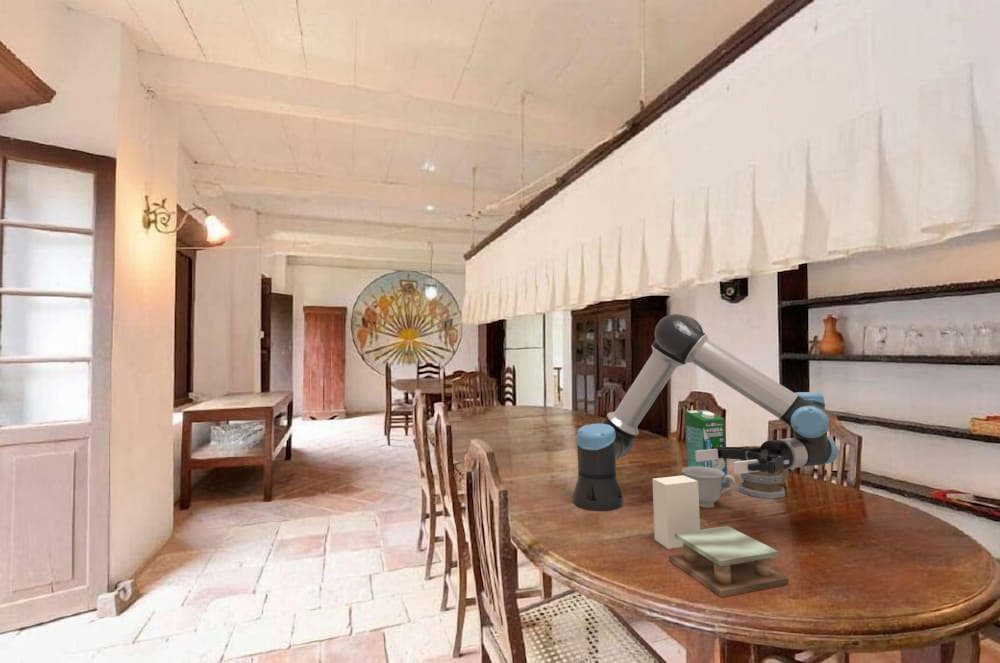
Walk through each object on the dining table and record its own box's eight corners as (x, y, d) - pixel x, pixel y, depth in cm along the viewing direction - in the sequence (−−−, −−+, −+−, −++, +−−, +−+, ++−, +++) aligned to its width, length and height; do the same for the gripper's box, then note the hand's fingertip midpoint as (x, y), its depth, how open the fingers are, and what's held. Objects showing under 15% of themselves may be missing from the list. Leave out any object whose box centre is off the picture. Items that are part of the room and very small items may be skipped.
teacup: (732, 516, 127) (731, 480, 127) (677, 506, 136) (676, 472, 136) (740, 504, 137) (739, 470, 137) (688, 495, 146) (687, 464, 146)
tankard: (762, 500, 140) (759, 451, 140) (730, 488, 152) (728, 443, 152) (812, 493, 145) (810, 446, 146) (778, 482, 157) (776, 439, 158)
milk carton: (705, 488, 153) (702, 413, 154) (687, 481, 162) (684, 410, 163) (727, 485, 156) (724, 412, 157) (708, 478, 164) (705, 409, 165)
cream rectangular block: (654, 539, 113) (652, 478, 114) (685, 535, 115) (683, 475, 116) (668, 548, 108) (665, 484, 108) (700, 543, 110) (698, 481, 111)
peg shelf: (669, 560, 102) (668, 532, 102) (728, 550, 106) (727, 523, 106) (721, 597, 86) (719, 564, 87) (788, 584, 90) (787, 552, 91)
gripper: (828, 480, 108) (755, 490, 102) (746, 458, 132) (683, 465, 127) (825, 448, 108) (752, 457, 103) (744, 432, 132) (681, 438, 127)
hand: (714, 461), depth 115 cm, fingers open, 13 cm apart
